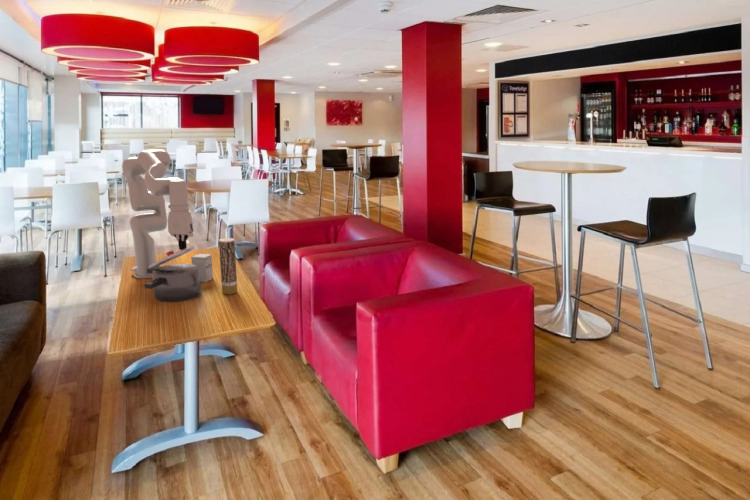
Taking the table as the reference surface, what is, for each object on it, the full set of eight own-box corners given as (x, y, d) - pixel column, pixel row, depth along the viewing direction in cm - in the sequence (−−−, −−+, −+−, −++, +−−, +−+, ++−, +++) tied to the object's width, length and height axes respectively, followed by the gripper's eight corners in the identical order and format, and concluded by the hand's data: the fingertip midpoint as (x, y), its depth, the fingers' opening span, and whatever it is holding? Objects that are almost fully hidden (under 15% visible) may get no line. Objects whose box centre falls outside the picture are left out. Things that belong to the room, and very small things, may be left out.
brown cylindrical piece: (230, 289, 257) (227, 237, 252) (240, 292, 254) (237, 239, 248) (219, 293, 252) (215, 240, 246) (229, 295, 248) (225, 241, 242)
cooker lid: (140, 273, 239) (136, 266, 239) (169, 261, 259) (166, 254, 259) (176, 255, 233) (173, 247, 232) (203, 244, 252) (200, 237, 252)
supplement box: (206, 282, 268) (204, 257, 265) (192, 281, 270) (190, 256, 267) (213, 278, 275) (212, 254, 273) (200, 277, 277) (198, 253, 274)
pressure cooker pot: (123, 306, 234) (120, 279, 231) (166, 286, 262) (164, 262, 259) (171, 311, 228) (168, 283, 225) (209, 290, 256) (207, 265, 254)
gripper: (159, 208, 238) (162, 250, 242) (189, 210, 234) (193, 252, 238) (169, 206, 245) (173, 246, 249) (199, 207, 241) (202, 248, 245)
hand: (182, 249), depth 243 cm, fingers closed
